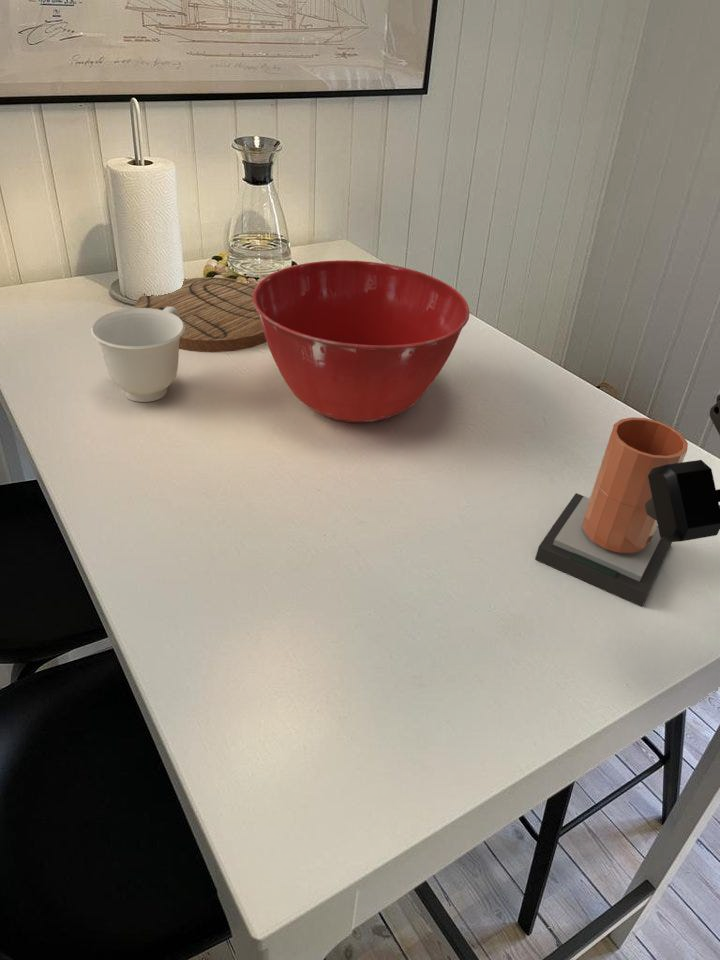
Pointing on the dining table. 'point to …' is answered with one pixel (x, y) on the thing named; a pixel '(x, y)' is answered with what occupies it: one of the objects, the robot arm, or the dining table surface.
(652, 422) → the orange faceted cup
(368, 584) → the dining table surface
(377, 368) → the mixing bowl
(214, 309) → the trivet
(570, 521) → the scale
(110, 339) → the teacup
